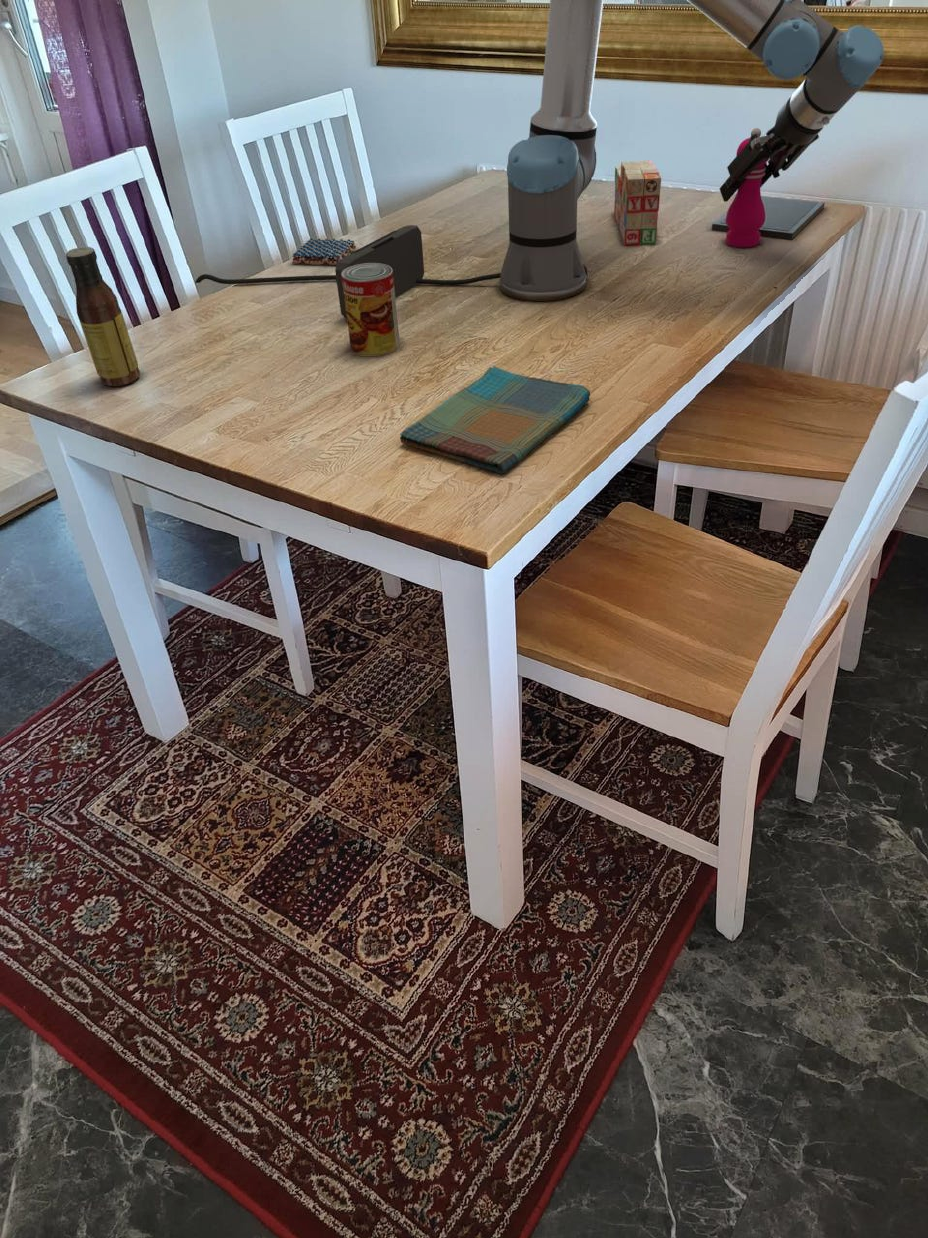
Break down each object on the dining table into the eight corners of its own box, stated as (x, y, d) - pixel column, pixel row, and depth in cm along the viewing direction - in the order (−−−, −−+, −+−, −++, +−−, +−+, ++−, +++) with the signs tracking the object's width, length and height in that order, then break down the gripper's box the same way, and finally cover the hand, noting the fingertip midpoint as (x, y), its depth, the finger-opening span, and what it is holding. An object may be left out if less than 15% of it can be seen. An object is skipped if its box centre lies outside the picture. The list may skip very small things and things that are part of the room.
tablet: (791, 239, 186) (792, 232, 185) (711, 229, 193) (712, 223, 192) (823, 208, 200) (825, 201, 200) (748, 199, 207) (748, 193, 207)
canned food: (345, 342, 158) (335, 267, 150) (391, 333, 160) (383, 259, 152) (358, 360, 152) (348, 283, 144) (406, 350, 154) (399, 274, 146)
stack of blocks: (613, 212, 205) (615, 149, 197) (642, 211, 205) (646, 148, 197) (624, 245, 188) (627, 178, 181) (656, 244, 188) (661, 176, 180)
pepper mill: (721, 247, 185) (734, 132, 172) (724, 235, 190) (737, 123, 178) (760, 249, 183) (776, 133, 170) (763, 237, 188) (778, 123, 176)
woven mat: (290, 265, 189) (288, 254, 188) (309, 247, 197) (308, 237, 196) (340, 266, 187) (339, 256, 185) (358, 248, 195) (357, 238, 193)
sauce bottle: (125, 367, 154) (89, 239, 142) (149, 377, 151) (114, 246, 138) (90, 383, 150) (49, 252, 138) (114, 392, 147) (74, 260, 135)
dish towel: (594, 403, 136) (595, 386, 135) (506, 477, 121) (505, 459, 120) (491, 378, 144) (491, 362, 143) (396, 445, 129) (395, 428, 128)
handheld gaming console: (413, 277, 180) (408, 221, 174) (425, 279, 179) (421, 223, 173) (339, 321, 165) (331, 261, 159) (352, 323, 164) (345, 263, 158)
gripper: (770, 139, 159) (702, 218, 181) (859, 124, 164) (781, 202, 186) (755, 97, 159) (688, 181, 182) (843, 84, 165) (768, 167, 187)
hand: (736, 192), depth 184 cm, fingers closed on pepper mill, 5 cm apart
